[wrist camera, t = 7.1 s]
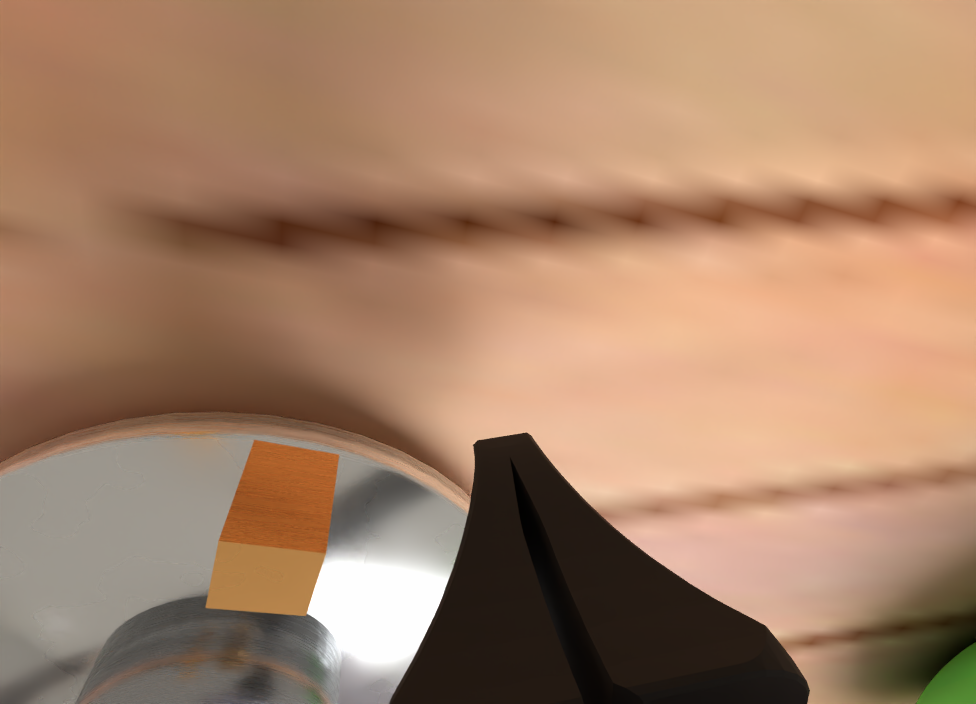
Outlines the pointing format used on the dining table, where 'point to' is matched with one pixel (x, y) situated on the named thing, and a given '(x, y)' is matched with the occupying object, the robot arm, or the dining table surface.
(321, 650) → the cover
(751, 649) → the robot arm
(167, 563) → the disc
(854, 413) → the dining table surface
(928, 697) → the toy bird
